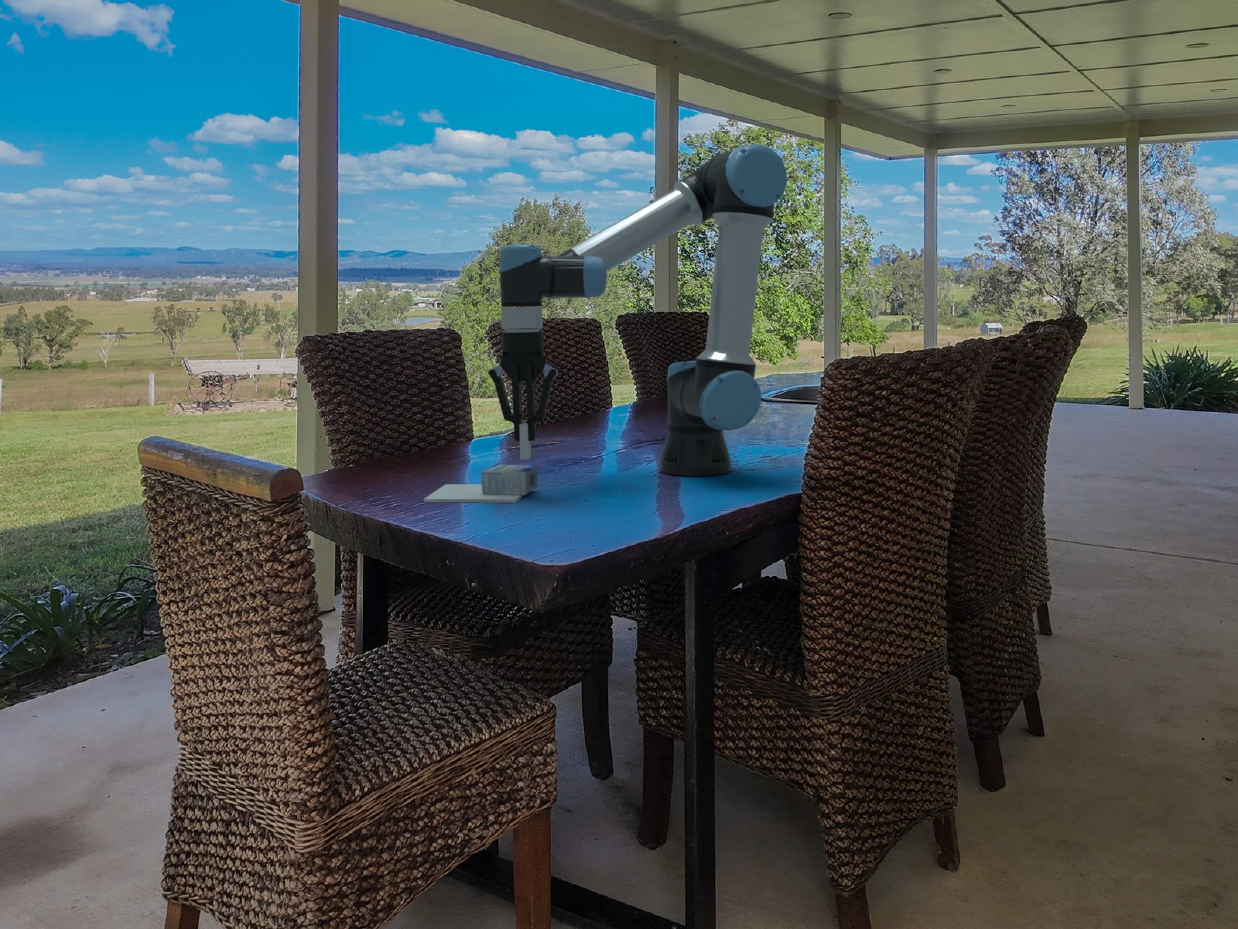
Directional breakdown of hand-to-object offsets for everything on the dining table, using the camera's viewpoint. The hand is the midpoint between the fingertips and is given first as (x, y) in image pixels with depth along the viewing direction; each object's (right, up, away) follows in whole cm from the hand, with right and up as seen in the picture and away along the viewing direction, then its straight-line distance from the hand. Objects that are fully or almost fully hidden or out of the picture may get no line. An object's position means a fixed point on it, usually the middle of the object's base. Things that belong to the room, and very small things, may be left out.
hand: (525, 458), depth 190 cm
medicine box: (+1, -4, +1) cm, 4 cm away
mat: (-9, -7, +2) cm, 11 cm away
